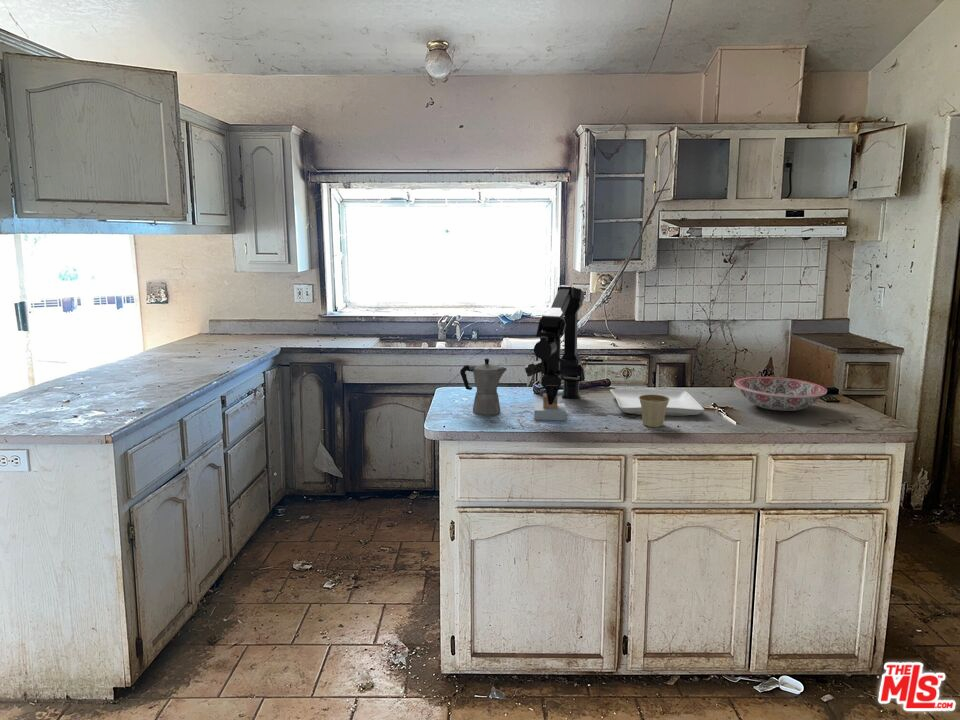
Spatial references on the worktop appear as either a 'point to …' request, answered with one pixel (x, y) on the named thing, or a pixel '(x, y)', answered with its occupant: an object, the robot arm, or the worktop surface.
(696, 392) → the worktop surface
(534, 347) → the robot arm
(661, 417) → the flower pot
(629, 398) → the square plate
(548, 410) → the base slab
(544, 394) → the walnut block
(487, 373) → the coffeepot
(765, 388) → the ceramic bowl
